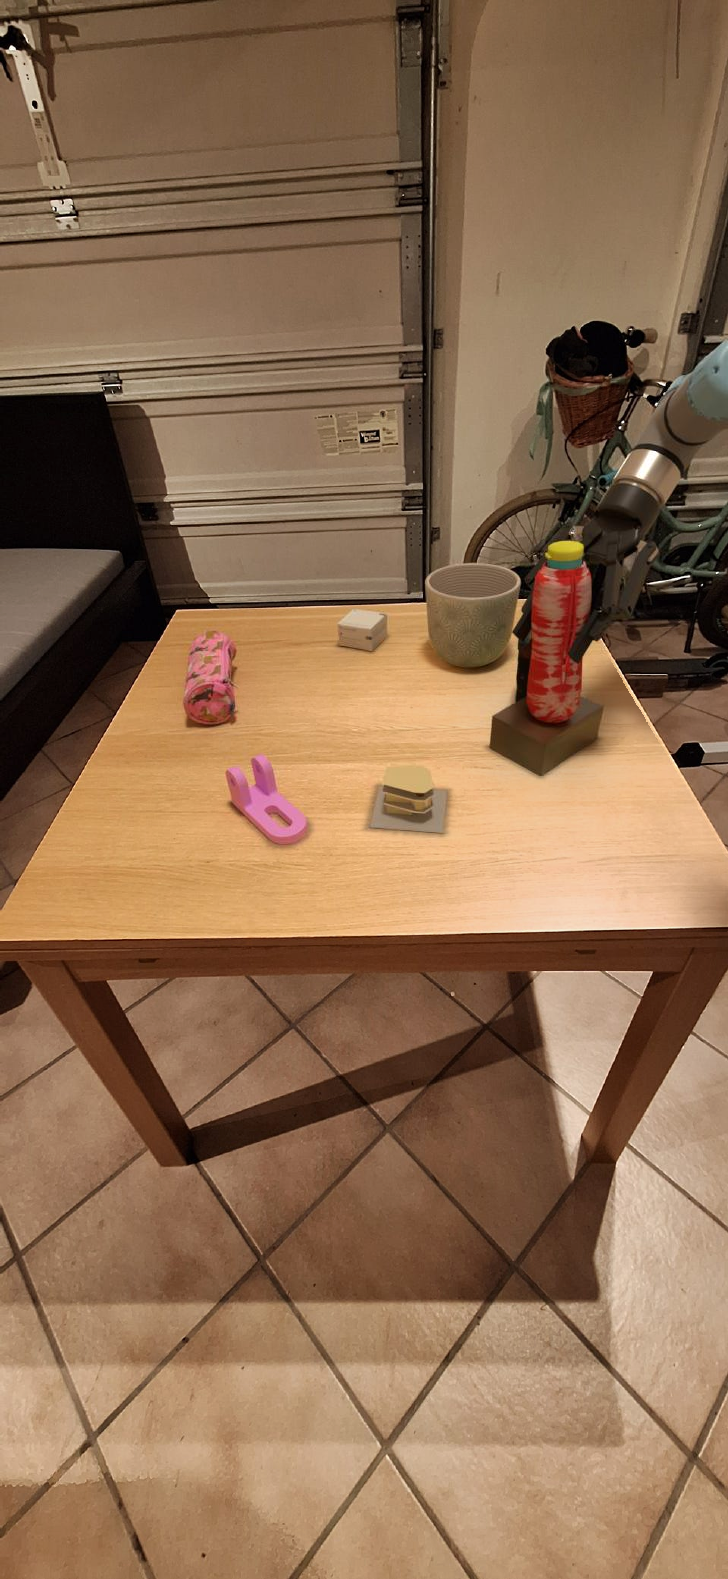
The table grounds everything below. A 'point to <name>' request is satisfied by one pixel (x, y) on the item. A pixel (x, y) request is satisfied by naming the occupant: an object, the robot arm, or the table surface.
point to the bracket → (265, 802)
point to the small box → (362, 629)
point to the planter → (471, 612)
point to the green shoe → (522, 669)
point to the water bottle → (557, 632)
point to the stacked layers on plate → (409, 801)
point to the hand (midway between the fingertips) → (544, 647)
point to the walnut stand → (543, 735)
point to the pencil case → (210, 679)
